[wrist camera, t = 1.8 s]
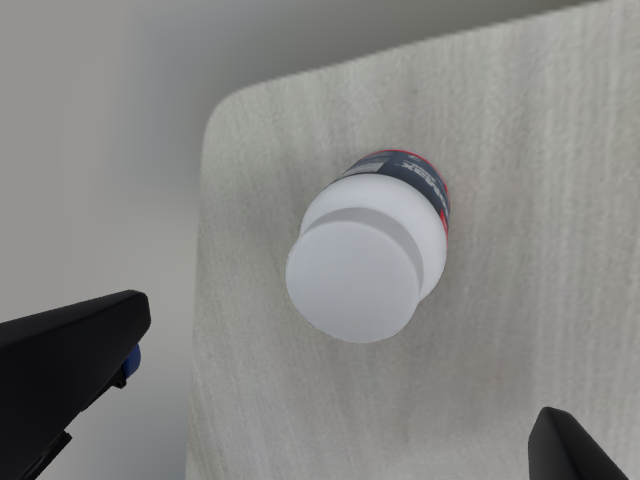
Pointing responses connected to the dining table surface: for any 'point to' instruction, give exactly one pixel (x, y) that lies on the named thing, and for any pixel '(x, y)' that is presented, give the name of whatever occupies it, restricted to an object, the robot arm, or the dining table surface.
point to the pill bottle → (371, 247)
